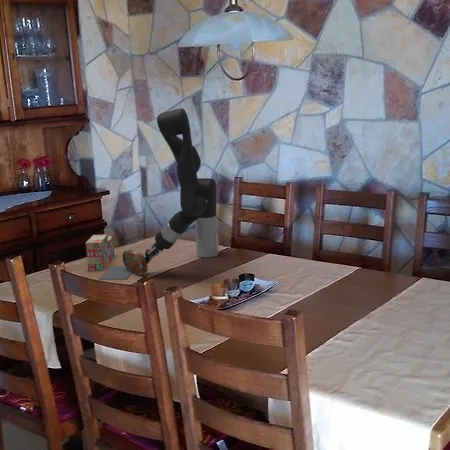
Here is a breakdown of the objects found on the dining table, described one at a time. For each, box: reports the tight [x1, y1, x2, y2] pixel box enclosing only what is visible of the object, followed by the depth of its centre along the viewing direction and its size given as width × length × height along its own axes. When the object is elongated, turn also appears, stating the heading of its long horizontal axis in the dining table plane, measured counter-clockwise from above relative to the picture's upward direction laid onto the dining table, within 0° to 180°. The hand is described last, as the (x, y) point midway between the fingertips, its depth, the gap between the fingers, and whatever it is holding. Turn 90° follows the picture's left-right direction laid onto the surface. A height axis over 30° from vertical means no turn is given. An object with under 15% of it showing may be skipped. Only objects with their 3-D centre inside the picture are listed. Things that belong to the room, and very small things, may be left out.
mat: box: [98, 265, 133, 281], centre depth 252 cm, size 11×17×1 cm, turn 174°
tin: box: [122, 249, 149, 276], centre depth 250 cm, size 15×3×8 cm, turn 39°
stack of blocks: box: [85, 234, 115, 272], centre depth 265 cm, size 21×6×12 cm, turn 177°
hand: (144, 262), depth 249 cm, fingers closed
